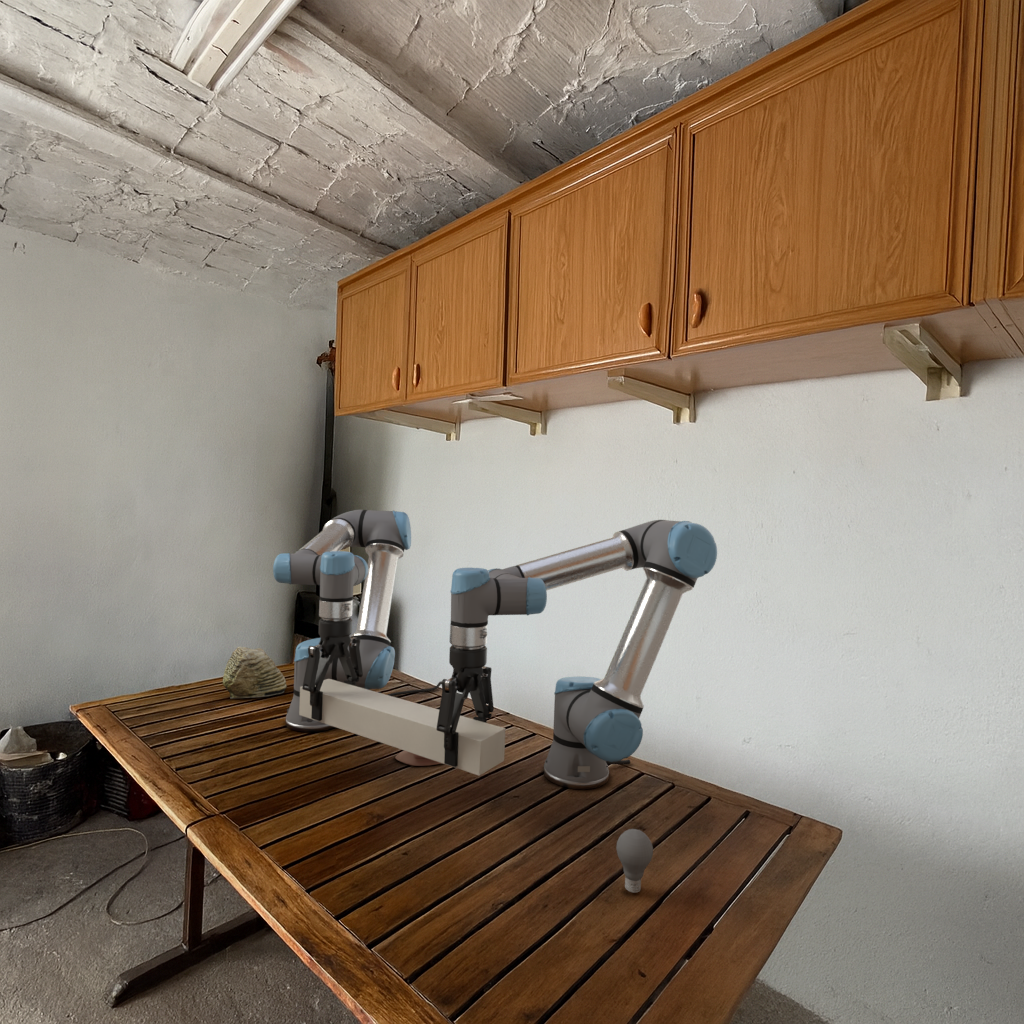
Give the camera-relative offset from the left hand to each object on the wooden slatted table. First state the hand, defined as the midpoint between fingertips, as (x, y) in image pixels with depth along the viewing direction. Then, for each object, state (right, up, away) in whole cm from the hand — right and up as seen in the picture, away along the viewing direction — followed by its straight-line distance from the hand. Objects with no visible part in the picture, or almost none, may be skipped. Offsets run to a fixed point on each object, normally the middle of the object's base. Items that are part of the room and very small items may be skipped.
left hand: (332, 713), depth 148 cm
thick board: (+16, -2, -10) cm, 19 cm away
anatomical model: (+20, -13, +8) cm, 26 cm away
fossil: (-39, -10, +50) cm, 64 cm away
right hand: (+33, -2, -21) cm, 39 cm away
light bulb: (+62, -16, -43) cm, 77 cm away
